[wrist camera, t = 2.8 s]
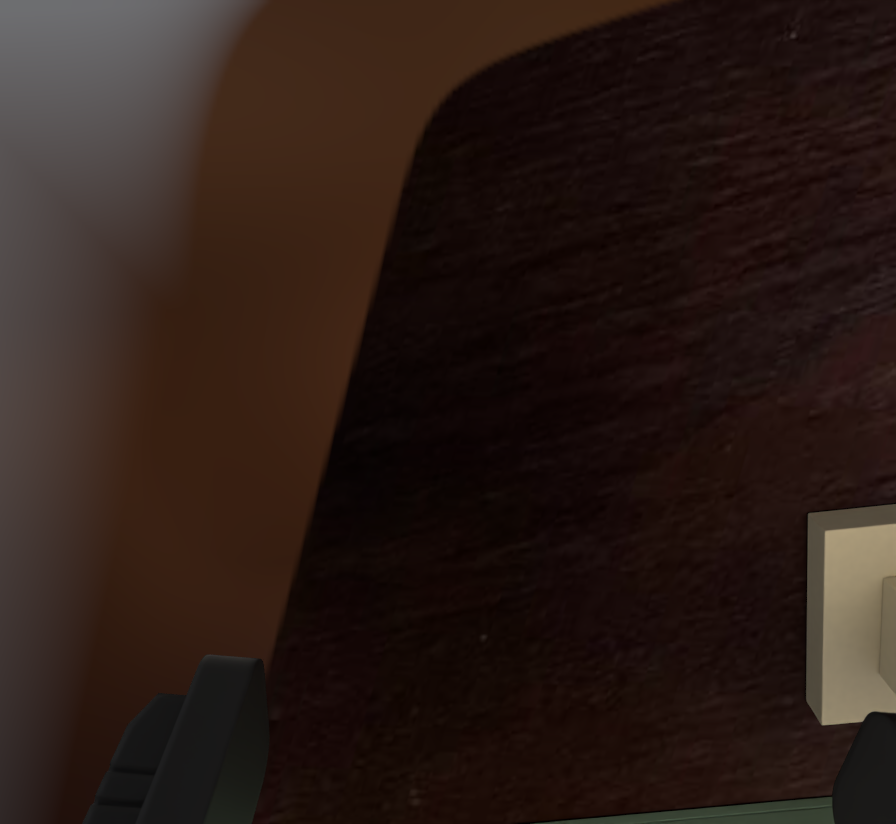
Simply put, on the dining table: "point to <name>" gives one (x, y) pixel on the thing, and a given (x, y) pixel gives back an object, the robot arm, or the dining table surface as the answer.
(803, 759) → the dining table surface
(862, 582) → the stand
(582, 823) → the tray
